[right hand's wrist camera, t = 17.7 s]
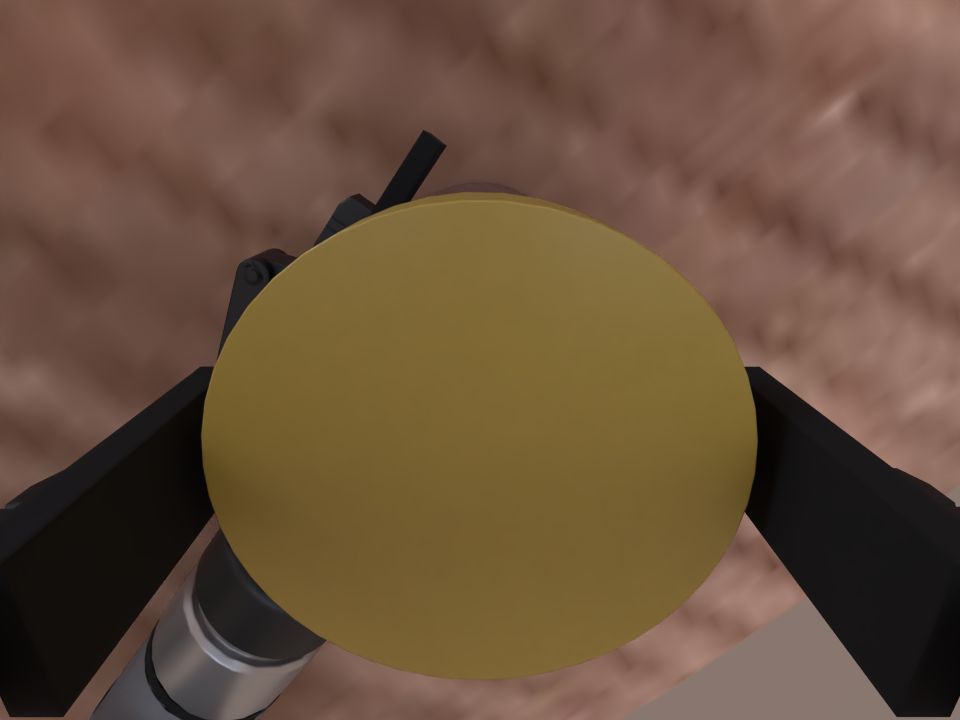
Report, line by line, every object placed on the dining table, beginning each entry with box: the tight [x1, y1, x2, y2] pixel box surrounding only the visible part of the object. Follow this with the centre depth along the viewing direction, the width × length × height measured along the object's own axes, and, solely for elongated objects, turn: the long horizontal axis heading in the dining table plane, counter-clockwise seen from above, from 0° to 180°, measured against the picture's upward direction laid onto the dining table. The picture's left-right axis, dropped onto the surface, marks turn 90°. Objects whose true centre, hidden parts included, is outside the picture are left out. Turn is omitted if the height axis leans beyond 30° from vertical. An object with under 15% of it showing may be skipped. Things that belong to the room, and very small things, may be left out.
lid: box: [201, 192, 758, 680], centre depth 11 cm, size 11×11×2 cm
